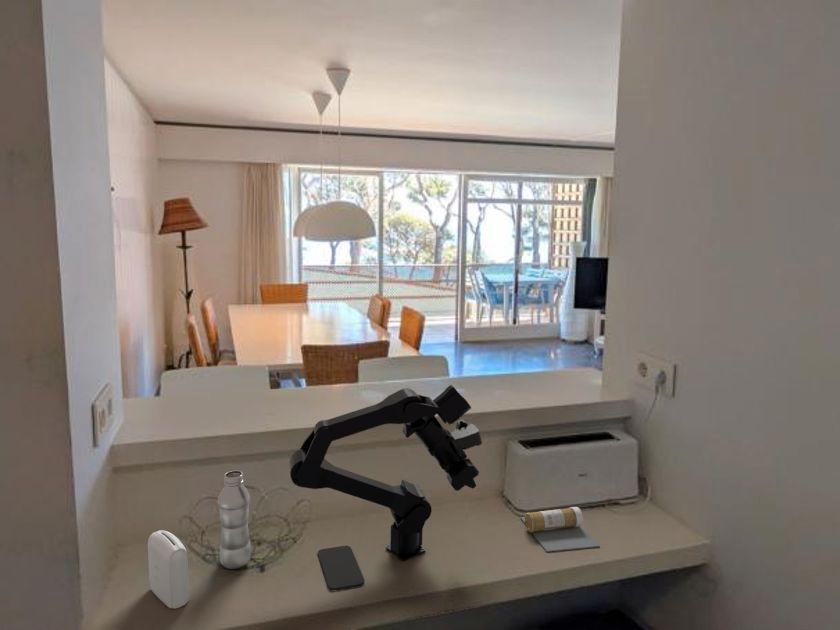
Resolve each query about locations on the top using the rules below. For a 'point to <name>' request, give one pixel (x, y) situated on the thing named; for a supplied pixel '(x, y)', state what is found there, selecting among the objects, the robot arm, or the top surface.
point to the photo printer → (168, 569)
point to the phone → (340, 568)
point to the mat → (564, 539)
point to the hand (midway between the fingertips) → (474, 486)
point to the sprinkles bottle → (553, 519)
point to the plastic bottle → (234, 522)
